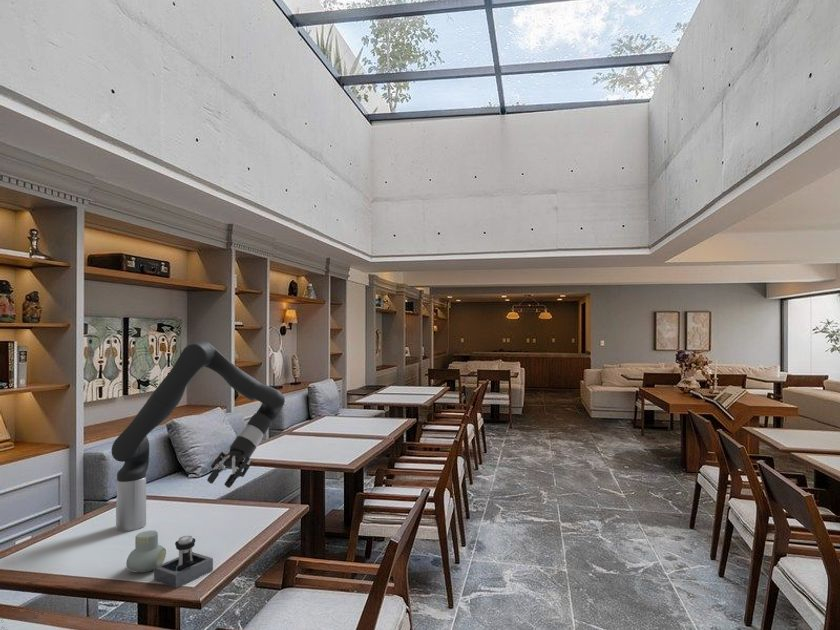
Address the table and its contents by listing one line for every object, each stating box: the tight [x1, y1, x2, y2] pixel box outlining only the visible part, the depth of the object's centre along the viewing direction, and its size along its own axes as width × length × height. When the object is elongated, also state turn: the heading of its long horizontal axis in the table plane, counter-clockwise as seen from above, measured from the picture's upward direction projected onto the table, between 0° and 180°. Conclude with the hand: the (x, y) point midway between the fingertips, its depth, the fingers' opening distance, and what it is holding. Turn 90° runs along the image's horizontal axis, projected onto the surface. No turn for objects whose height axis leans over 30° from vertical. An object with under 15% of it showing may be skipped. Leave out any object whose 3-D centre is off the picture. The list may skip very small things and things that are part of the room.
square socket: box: [153, 551, 214, 589], centre depth 147 cm, size 10×12×4 cm
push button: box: [174, 535, 196, 572], centre depth 148 cm, size 7×5×10 cm
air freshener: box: [125, 530, 167, 573], centre depth 152 cm, size 11×8×10 cm
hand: (217, 484), depth 165 cm, fingers open, 8 cm apart
